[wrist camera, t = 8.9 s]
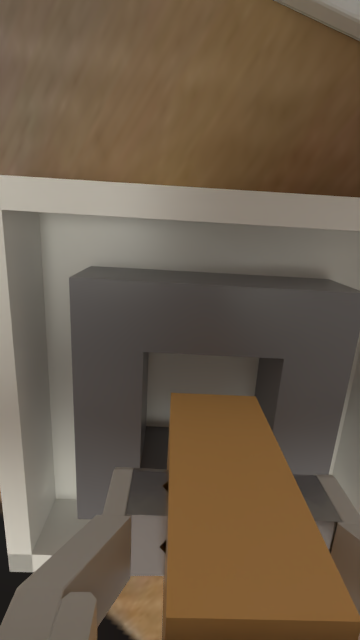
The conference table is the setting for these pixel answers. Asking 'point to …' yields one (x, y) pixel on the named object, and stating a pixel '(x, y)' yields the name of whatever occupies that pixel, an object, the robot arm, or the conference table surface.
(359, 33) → the external hard drive
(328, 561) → the tan rectangular block
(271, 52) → the conference table surface
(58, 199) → the walled box
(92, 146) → the conference table surface
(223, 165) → the conference table surface
